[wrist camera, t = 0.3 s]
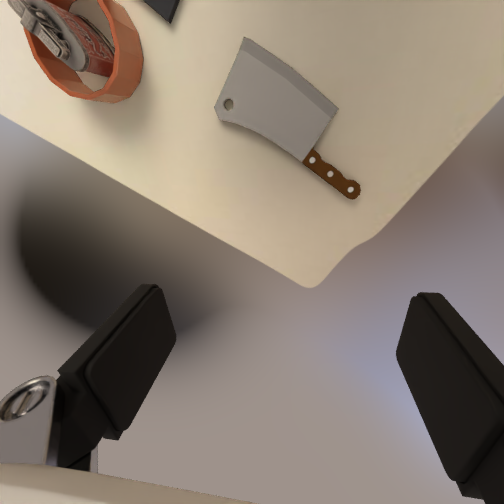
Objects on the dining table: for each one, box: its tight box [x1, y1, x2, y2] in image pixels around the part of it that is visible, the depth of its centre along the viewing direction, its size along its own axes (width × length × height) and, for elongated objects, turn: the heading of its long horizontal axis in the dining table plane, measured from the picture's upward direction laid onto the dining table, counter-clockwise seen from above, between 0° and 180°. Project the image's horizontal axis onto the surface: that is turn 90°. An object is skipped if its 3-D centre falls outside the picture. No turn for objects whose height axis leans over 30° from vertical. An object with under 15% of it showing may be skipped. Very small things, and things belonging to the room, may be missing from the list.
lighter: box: [7, 0, 115, 78], centre depth 28 cm, size 8×3×10 cm, turn 40°
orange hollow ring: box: [24, 0, 143, 103], centre depth 30 cm, size 12×12×5 cm
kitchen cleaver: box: [214, 37, 361, 199], centre depth 33 cm, size 24×1×10 cm
